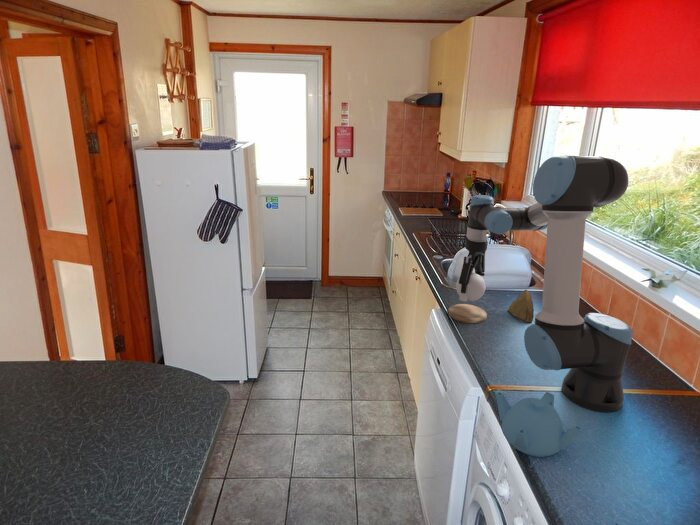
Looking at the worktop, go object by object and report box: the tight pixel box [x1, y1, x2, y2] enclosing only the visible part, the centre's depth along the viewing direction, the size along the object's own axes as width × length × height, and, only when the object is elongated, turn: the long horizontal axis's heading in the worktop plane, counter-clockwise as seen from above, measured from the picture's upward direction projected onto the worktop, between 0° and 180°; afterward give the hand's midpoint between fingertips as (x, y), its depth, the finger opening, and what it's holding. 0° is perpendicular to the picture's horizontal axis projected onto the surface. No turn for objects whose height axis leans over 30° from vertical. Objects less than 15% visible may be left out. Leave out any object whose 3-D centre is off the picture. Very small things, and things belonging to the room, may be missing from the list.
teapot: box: [495, 391, 583, 458], centre depth 109 cm, size 15×15×11 cm
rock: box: [507, 289, 535, 323], centre depth 173 cm, size 11×9×10 cm
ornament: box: [455, 272, 487, 302], centre depth 170 cm, size 10×10×12 cm
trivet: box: [447, 303, 488, 324], centre depth 174 cm, size 14×14×1 cm
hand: (469, 296), depth 172 cm, fingers closed on ornament, 10 cm apart
